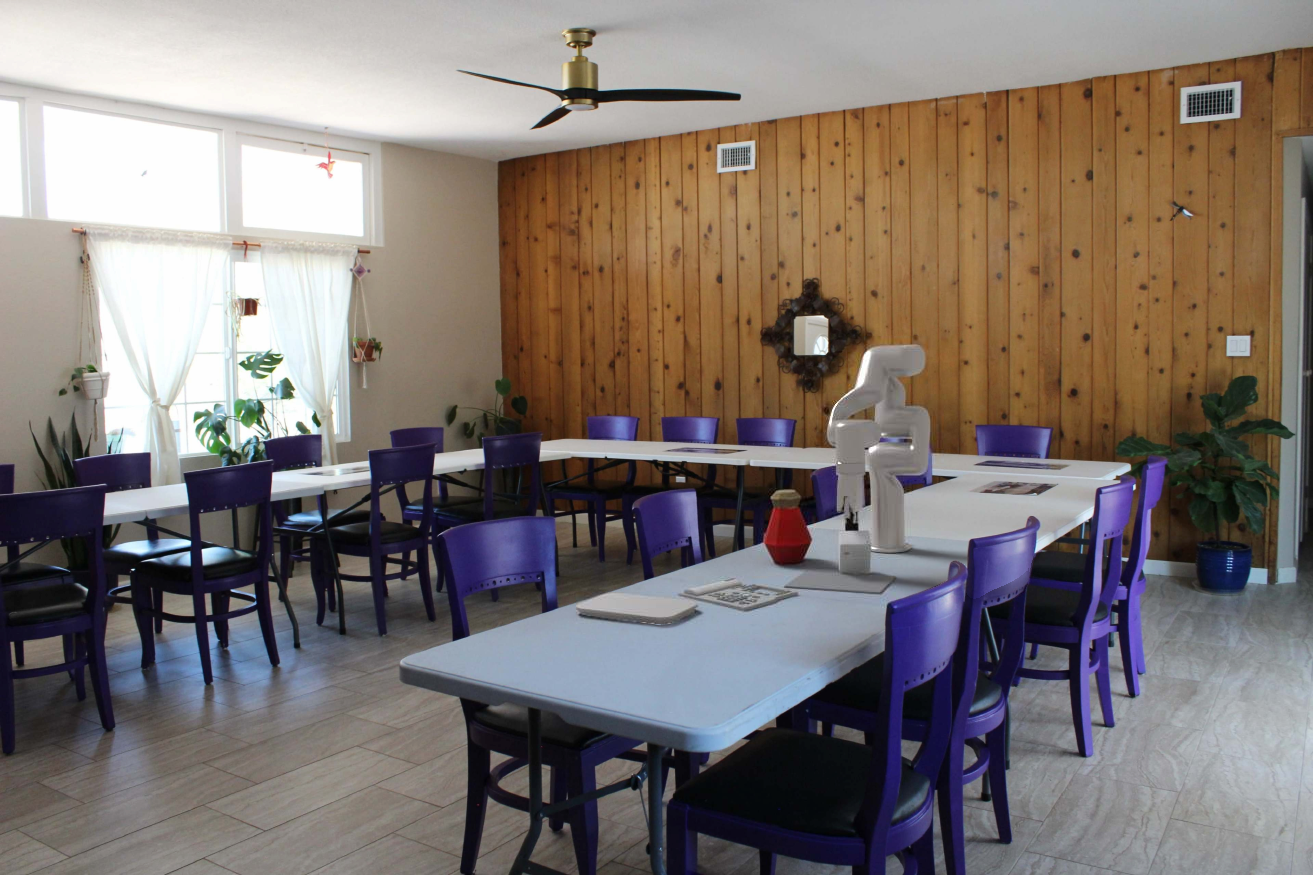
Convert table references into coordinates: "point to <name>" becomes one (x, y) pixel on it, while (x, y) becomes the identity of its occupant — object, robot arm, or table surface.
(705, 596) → the office telephone
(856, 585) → the mat
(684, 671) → the table surface
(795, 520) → the bottle
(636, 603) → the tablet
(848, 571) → the small box
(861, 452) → the robot arm
